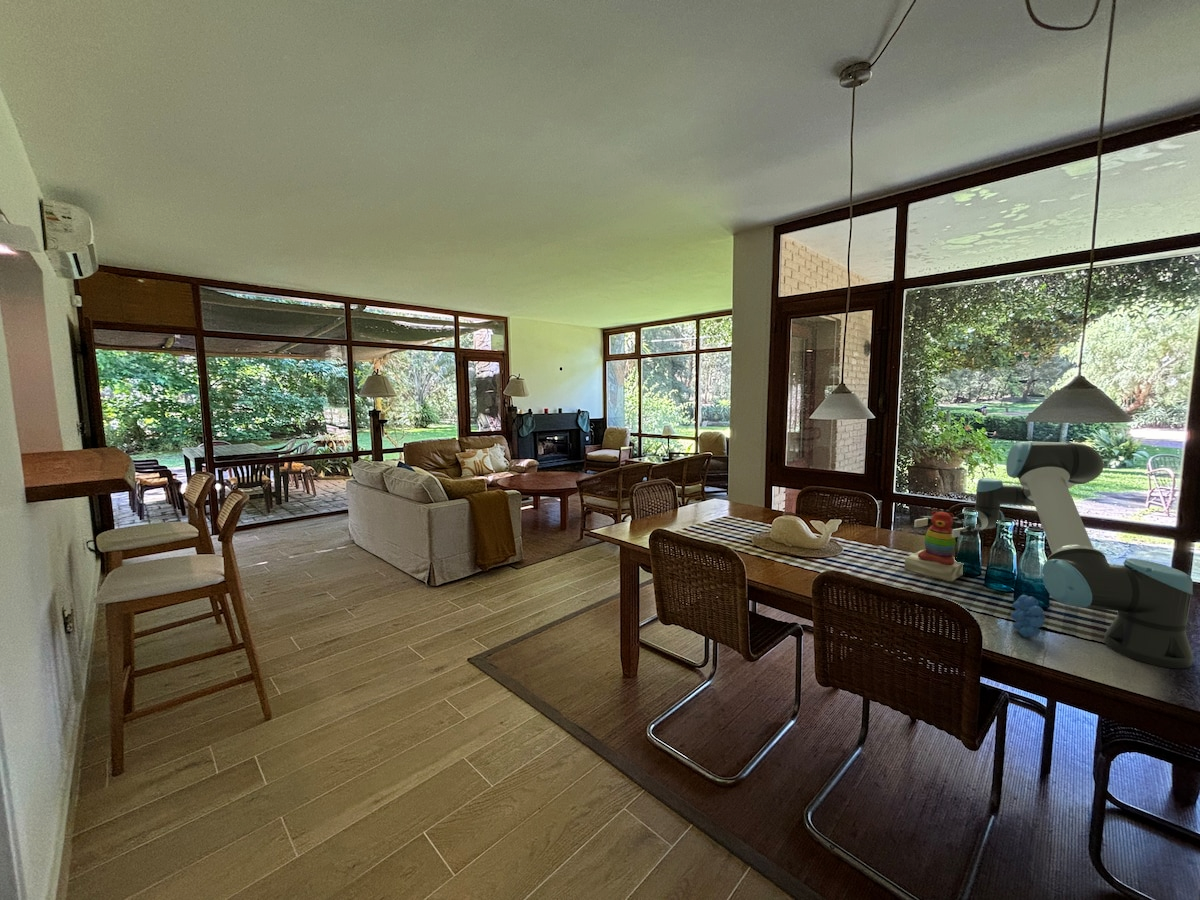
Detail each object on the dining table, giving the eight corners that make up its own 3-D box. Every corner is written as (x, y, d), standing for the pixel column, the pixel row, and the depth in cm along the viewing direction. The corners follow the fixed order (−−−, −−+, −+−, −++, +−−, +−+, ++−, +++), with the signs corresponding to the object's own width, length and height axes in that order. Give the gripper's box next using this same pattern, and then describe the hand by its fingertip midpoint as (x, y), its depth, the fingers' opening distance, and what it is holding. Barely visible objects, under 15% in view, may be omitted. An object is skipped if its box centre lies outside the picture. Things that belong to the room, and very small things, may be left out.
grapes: (1057, 649, 127) (1062, 606, 126) (1026, 646, 129) (1031, 603, 127) (1031, 628, 138) (1035, 587, 137) (1003, 625, 140) (1007, 585, 139)
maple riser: (950, 583, 171) (951, 569, 171) (904, 570, 183) (905, 557, 183) (967, 573, 180) (968, 560, 179) (922, 561, 192) (923, 549, 191)
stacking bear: (916, 557, 181) (921, 511, 178) (924, 551, 188) (930, 506, 185) (950, 566, 173) (957, 518, 170) (958, 559, 180) (964, 512, 177)
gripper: (1006, 540, 175) (969, 548, 167) (936, 522, 198) (900, 529, 190) (1008, 520, 174) (971, 527, 166) (937, 504, 197) (901, 510, 189)
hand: (933, 528), depth 178 cm, fingers open, 13 cm apart
